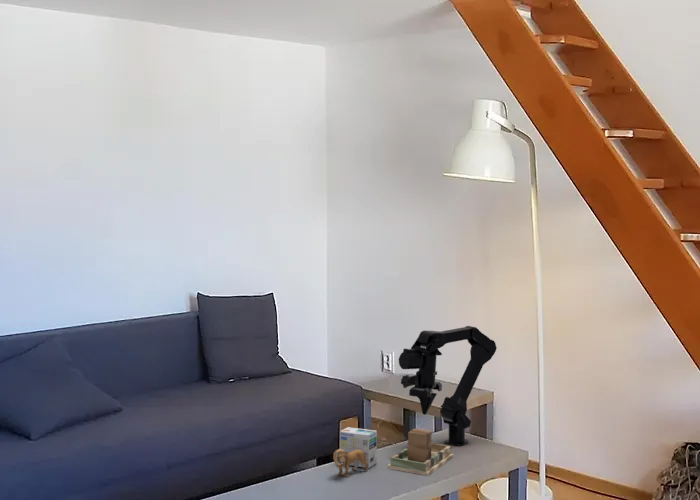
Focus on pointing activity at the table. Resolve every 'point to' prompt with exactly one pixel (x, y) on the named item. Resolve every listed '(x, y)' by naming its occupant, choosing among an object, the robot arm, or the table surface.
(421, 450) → the walnut block
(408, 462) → the beige flat tray
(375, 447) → the light bulb box
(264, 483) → the table surface
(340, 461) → the lion figurine
